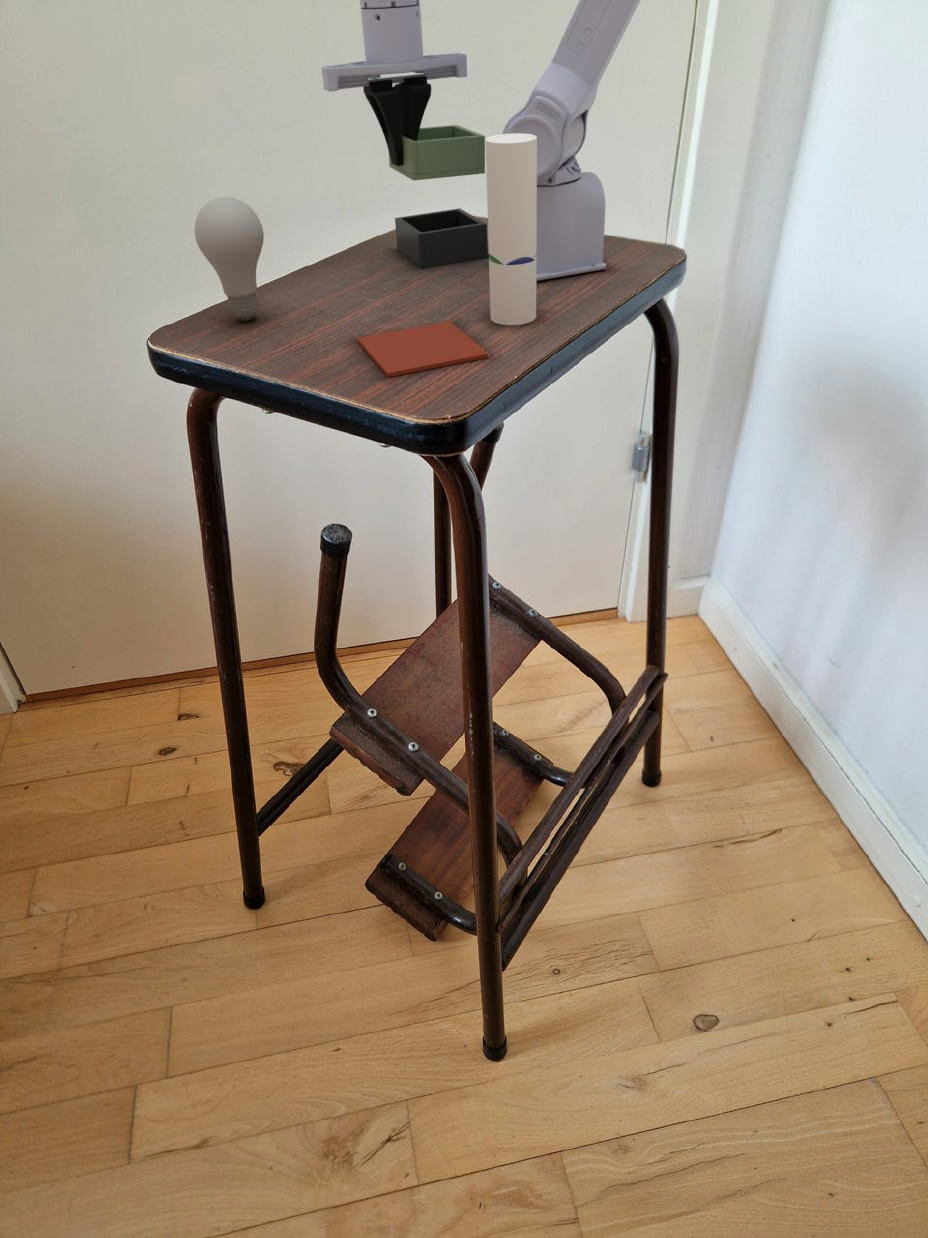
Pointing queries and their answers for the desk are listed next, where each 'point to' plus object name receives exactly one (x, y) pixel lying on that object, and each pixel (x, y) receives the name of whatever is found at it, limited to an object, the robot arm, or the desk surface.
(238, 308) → the lightbulb
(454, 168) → the box
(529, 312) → the tube
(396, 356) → the mat
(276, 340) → the desk surface
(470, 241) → the box
